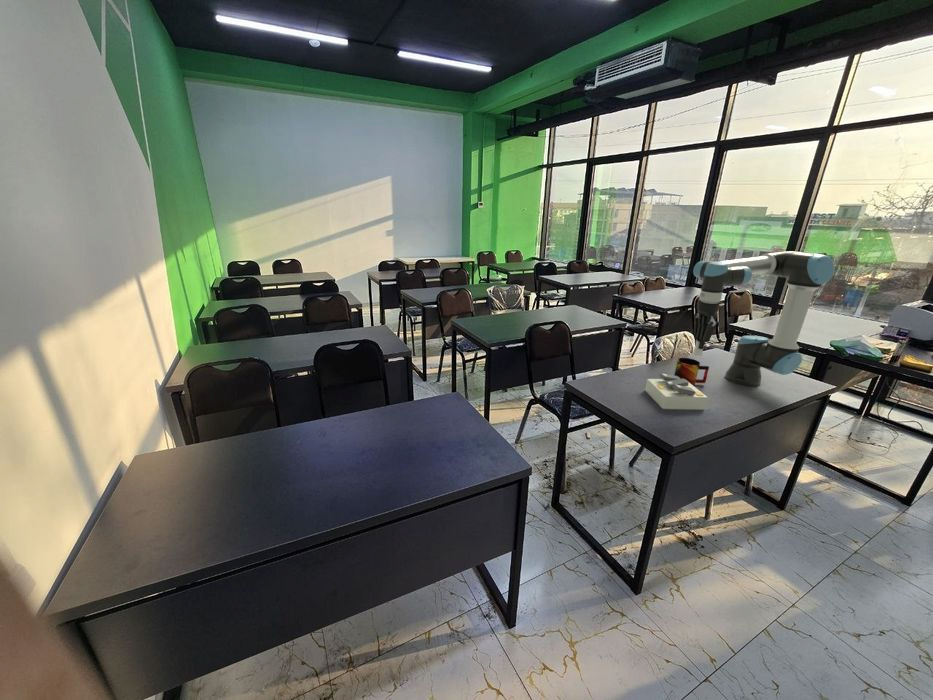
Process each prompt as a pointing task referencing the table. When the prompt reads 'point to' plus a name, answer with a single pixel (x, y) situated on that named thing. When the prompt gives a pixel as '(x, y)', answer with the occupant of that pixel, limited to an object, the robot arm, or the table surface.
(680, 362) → the mug
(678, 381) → the block
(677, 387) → the block
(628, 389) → the table surface
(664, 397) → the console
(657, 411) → the table surface
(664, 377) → the block
